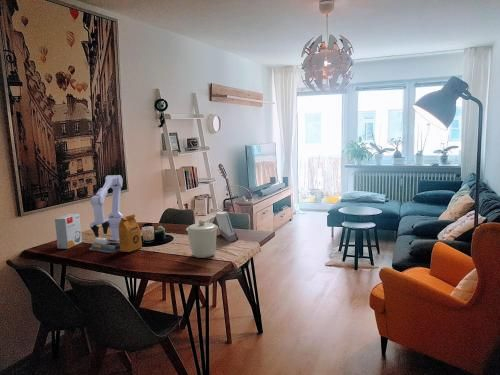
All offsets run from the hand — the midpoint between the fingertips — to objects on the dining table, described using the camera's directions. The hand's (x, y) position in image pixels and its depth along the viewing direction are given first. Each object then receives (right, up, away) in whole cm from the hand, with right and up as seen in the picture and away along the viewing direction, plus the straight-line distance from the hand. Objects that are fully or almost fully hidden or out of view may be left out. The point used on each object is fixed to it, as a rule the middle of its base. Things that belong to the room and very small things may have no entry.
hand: (101, 235), depth 246 cm
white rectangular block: (0, -7, +1) cm, 7 cm away
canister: (+68, -9, -21) cm, 72 cm away
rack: (+5, -8, -1) cm, 10 cm away
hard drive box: (-24, -8, +10) cm, 28 cm away
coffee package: (+21, -9, -6) cm, 24 cm away
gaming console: (+80, -3, +13) cm, 81 cm away
